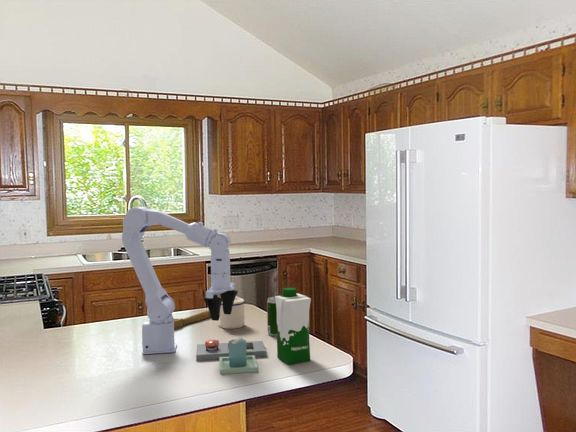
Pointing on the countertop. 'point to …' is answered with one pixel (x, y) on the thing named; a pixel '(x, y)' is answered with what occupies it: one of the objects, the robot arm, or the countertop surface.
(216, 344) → the plunger
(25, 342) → the countertop surface
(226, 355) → the housing
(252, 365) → the tray
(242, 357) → the rotary knob
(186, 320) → the tap handle
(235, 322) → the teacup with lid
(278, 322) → the milk carton
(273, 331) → the beer can
